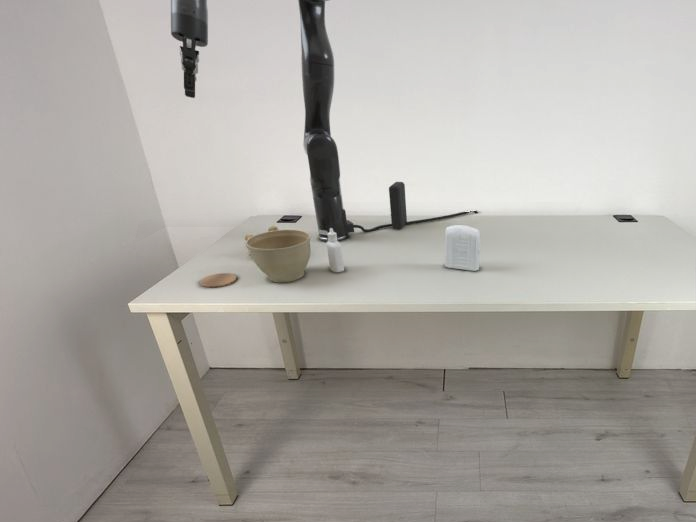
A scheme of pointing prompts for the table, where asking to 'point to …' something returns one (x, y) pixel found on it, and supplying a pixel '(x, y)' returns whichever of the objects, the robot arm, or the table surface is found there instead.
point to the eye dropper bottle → (334, 252)
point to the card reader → (397, 205)
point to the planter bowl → (281, 253)
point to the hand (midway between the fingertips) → (189, 93)
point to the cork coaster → (218, 280)
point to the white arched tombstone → (462, 247)
